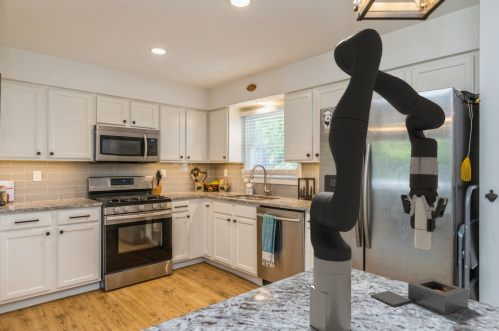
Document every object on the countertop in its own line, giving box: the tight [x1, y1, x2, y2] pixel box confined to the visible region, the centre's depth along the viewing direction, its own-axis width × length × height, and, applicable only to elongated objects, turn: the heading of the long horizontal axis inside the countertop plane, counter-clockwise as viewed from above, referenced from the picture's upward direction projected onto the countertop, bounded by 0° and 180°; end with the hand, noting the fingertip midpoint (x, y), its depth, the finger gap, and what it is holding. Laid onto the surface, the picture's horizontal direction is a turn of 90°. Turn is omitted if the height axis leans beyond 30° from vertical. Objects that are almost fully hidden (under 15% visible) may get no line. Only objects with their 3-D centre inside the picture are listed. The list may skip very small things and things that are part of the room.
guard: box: [407, 277, 469, 316], centre depth 92 cm, size 11×11×5 cm
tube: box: [413, 197, 432, 251], centre depth 93 cm, size 4×4×15 cm
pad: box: [370, 290, 412, 308], centre depth 94 cm, size 8×8×1 cm
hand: (422, 229), depth 93 cm, fingers closed on tube, 4 cm apart
